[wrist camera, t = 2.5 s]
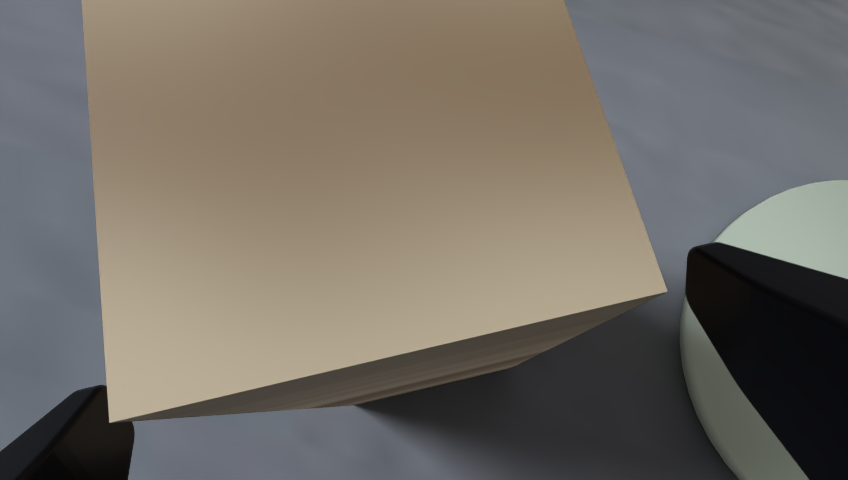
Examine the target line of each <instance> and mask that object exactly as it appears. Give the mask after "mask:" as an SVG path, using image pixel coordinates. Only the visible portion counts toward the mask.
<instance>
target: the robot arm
mask: <svg viewBox="0 0 848 480" xmlns="http://www.w3.org/2000/svg"><path fill="white" fill-rule="evenodd" d="M685 291H686V298H687V302H688V304H689V306H690V308H691V310H692V311H693V313H694V315H695V316H696V318H697V320H698V321H699V323H700V325H701V326H702V328H703V330H704V331H705V333H706V335H707V336H708V338H709V340H710V341H711V343H712V345H713V346H714V348H715V350H716V351H717V353H718V355H719V356H720V358H721V359H722V361H723V363H724V364H725V366H726V368H727V369H728V371H729V373H730V374H731V376H732V377H733V379H734V380H735V382H736V384H737V385H738V387H739V388H740V389H741V391H742V392H743V394H744V395H745V396H746V398H747V399H748V400H749V402H750V403H751V404H752V406H753V407H754V408H755V410H756V411H757V412H758V414H759V415H760V416H761V417H762V419H763V420H764V421H765V423H766V424H767V425H768V427H769V428H770V429H771V431H772V432H773V433H774V434H775V436H776V437H777V438H778V440H779V441H780V442H781V444H782V445H783V446H784V447H785V449H786V450H787V451H788V453H789V454H790V455H791V457H792V458H793V459H794V461H795V462H796V463H797V464H798V466H799V467H800V468H801V470H802V471H803V472H804V474H805V475H806V476H807V478H808V479H809V480H848V279H846V278H842V277H839V276H835V275H832V274H828V273H825V272H821V271H818V270H814V269H811V268H808V267H804V266H801V265H797V264H794V263H790V262H787V261H783V260H780V259H776V258H773V257H769V256H766V255H762V254H759V253H755V252H752V251H749V250H745V249H742V248H738V247H735V246H731V245H728V244H724V243H721V242H713V243H708V244H704V245H700V246H696V247H693V248H692V249H691V250H690V251H689V253H688V257H687V271H686V289H685ZM133 444H134V426H133V423H132V421H128V422H115V423H109V410H108V395H107V386H105V385H98V386H94V387H89V388H85V389H81V390H78V391H75V392H74V393H72V394H71V395H70V396H68V397H67V398H66V399H65V400H64V401H62V402H61V403H60V404H59V405H57V406H56V407H55V408H54V409H52V410H51V411H50V412H49V413H47V414H46V415H45V416H44V417H43V418H41V419H40V420H39V421H38V422H36V423H35V424H34V425H33V426H31V427H30V428H29V429H28V430H26V431H25V432H24V433H23V434H21V435H20V436H19V437H18V438H17V439H15V440H14V441H13V442H12V443H10V444H9V445H8V446H7V447H5V448H4V449H3V450H2V451H0V480H128V475H129V469H130V463H131V456H132V450H133Z"/></svg>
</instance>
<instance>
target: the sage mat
mask: <svg viewBox="0 0 848 480" xmlns="http://www.w3.org/2000/svg"><path fill="white" fill-rule="evenodd" d="M713 242H721V243H724V244H728V245H731V246H735V247H738V248H742V249H745V250H749V251H752V252H755V253H759V254H762V255H766V256H769V257H773V258H776V259H780V260H783V261H787V262H790V263H794V264H797V265H801V266H804V267H808V268H811V269H814V270H818V271H821V272H825V273H828V274H832V275H835V276H839V277H842V278H846V279H848V180H833V181H825V182H818V183H811V184H807V185H804V186H800V187H796V188H792V189H789V190H787V191H785V192H782V193H780V194H777V195H775V196H772V197H770V198H769V199H767V200H765V201H764V202H762V203H760V204H758V205H757V206H755V207H753V208H752V209H750V210H749V211H747V212H745V213H744V214H742V215H741V216H739V217H738V218H737V219H735V220H734V221H733V222H732V223H730V224H729V225H728V226H727V227H726V228H724V229H723V230H722V231H721V233H720V234H719V235H718V236H717V237H716V238H715V239H714V240H713V241H712V242H711V243H713ZM680 352H681V361H682V369H683V373H684V377H685V381H686V385H687V389H688V393H689V396H690V399H691V401H692V404H693V406H694V409H695V412H696V414H697V417H698V419H699V421H700V423H701V425H702V427H703V428H704V430H705V432H706V434H707V436H708V438H709V440H710V442H711V443H712V445H713V446H714V448H715V449H716V450H717V452H718V453H719V455H720V456H721V458H722V459H723V461H724V462H725V464H726V465H727V466H728V467H729V468H730V469H731V471H732V472H733V473H734V474H735V475H736V476H737V478H738V479H739V480H809V479H808V478H807V476H806V475H805V474H804V472H803V471H802V470H801V468H800V467H799V466H798V464H797V463H796V462H795V461H794V459H793V458H792V457H791V455H790V454H789V453H788V451H787V450H786V449H785V447H784V446H783V445H782V444H781V442H780V441H779V440H778V438H777V437H776V436H775V434H774V433H773V432H772V431H771V429H770V428H769V427H768V425H767V424H766V423H765V421H764V420H763V419H762V417H761V416H760V415H759V414H758V412H757V411H756V410H755V408H754V407H753V406H752V404H751V403H750V402H749V400H748V399H747V398H746V396H745V395H744V394H743V392H742V391H741V389H740V388H739V387H738V385H737V384H736V382H735V380H734V379H733V377H732V376H731V374H730V373H729V371H728V369H727V368H726V366H725V364H724V363H723V361H722V359H721V358H720V356H719V355H718V353H717V351H716V350H715V348H714V346H713V345H712V343H711V341H710V340H709V338H708V336H707V335H706V333H705V331H704V330H703V328H702V326H701V325H700V323H699V321H698V320H697V318H696V316H695V315H694V313H693V311H692V310H691V308H690V306H689V304H688V302H687V298H686V294H685V297H684V300H683V306H682V313H681V319H680Z"/></svg>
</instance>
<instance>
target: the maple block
mask: <svg viewBox="0 0 848 480" xmlns="http://www.w3.org/2000/svg"><path fill="white" fill-rule="evenodd" d="M82 12H83V27H84V42H85V58H86V73H87V88H88V104H89V119H90V134H91V150H92V165H93V180H94V196H95V211H96V226H97V241H98V257H99V272H100V287H101V303H102V318H103V333H104V349H105V364H106V379H107V395H108V410H109V423H115V422H128V421H142V420H156V419H170V418H184V417H198V416H212V415H225V414H239V413H253V412H267V411H281V410H295V409H309V408H323V407H336V406H350V405H357V404H361V403H366V402H370V401H374V400H378V399H382V398H387V397H391V396H395V395H399V394H404V393H408V392H412V391H416V390H420V389H425V388H429V387H433V386H437V385H442V384H446V383H450V382H454V381H458V380H463V379H467V378H471V377H475V376H480V375H484V374H488V373H492V372H497V371H501V370H505V369H509V368H512V367H514V366H516V365H518V364H520V363H522V362H524V361H526V360H528V359H530V358H532V357H534V356H537V355H539V354H541V353H543V352H545V351H547V350H549V349H551V348H553V347H555V346H557V345H559V344H561V343H563V342H565V341H567V340H569V339H571V338H573V337H575V336H578V335H580V334H582V333H584V332H586V331H588V330H590V329H592V328H594V327H596V326H598V325H600V324H602V323H604V322H606V321H608V320H610V319H612V318H614V317H616V316H618V315H621V314H623V313H625V312H627V311H629V310H631V309H633V308H635V307H637V306H639V305H641V304H643V303H645V302H647V301H649V300H651V299H653V298H655V297H657V296H659V295H662V294H664V293H666V292H668V291H667V288H666V286H665V283H664V280H663V277H662V274H661V272H660V269H659V266H658V263H657V260H656V258H655V255H654V252H653V249H652V246H651V244H650V241H649V238H648V235H647V232H646V229H645V227H644V224H643V221H642V218H641V215H640V213H639V210H638V207H637V204H636V201H635V199H634V196H633V193H632V190H631V187H630V185H629V182H628V179H627V176H626V173H625V170H624V168H623V165H622V162H621V159H620V156H619V154H618V151H617V148H616V145H615V142H614V140H613V137H612V134H611V131H610V128H609V126H608V123H607V120H606V117H605V114H604V112H603V109H602V106H601V103H600V100H599V97H598V95H597V92H596V89H595V86H594V83H593V81H592V78H591V75H590V72H589V69H588V67H587V64H586V61H585V58H584V55H583V53H582V50H581V47H580V44H579V41H578V39H577V36H576V33H575V30H574V27H573V24H572V22H571V19H570V16H569V13H568V10H567V8H566V5H565V2H564V0H82Z"/></svg>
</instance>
